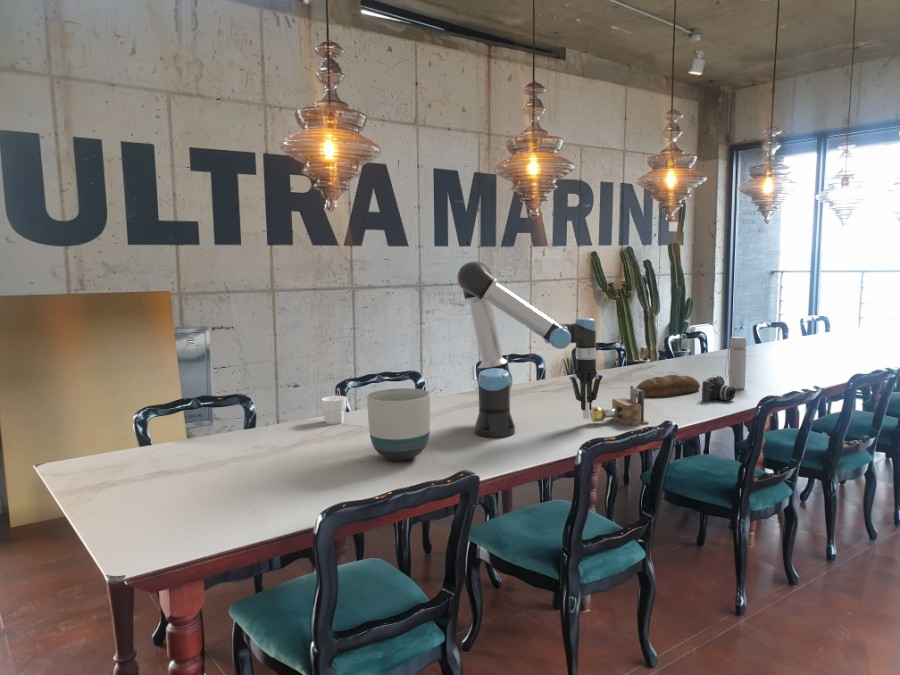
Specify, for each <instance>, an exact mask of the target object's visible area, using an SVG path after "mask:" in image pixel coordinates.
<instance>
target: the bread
mask: <svg viewBox="0 0 900 675" xmlns="http://www.w3.org/2000/svg"><path fill="white" fill-rule="evenodd" d="M700 387H701V384H700V382H699V381H698V380H697V379H695V378H694V377H693V376H690V375H677V374H667V375H665V376H654V377H652V378H647V379H645V380H643V381H641V382H640V383H638V385H637V386H635V388H638V389H640V390H644V398H655V397H656V398H657V397H658V398H661V397H662V398H664V397H672V396H673V397H674V396H677V395H678V396H680V395H686V394H690V393H694V392H696V391H698V390H700ZM636 396H638V395H637V394H636Z"/></svg>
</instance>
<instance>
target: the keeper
mask: <svg viewBox="0 0 900 675" xmlns="http://www.w3.org/2000/svg"><path fill="white" fill-rule="evenodd" d="M636 394H637V395H636ZM631 400H632V401H635V402H637V403H639V404H641V390H640V389H638V388H636V387H633V388H631Z"/></svg>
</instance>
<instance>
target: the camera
mask: <svg viewBox="0 0 900 675" xmlns="http://www.w3.org/2000/svg"><path fill="white" fill-rule="evenodd" d="M735 394H736V389H734V388H733V387H731V386H729V385H728V384H725V379H724V377H722V376H721V375H717V376H711V377H709V378H706V380H703V381H702V387H701V400H702V402H705V403H706V402H707V403H708V402H711V401H716V400H721V401H732V400H733V399H734V398H735V396H736V395H735Z"/></svg>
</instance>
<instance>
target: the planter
mask: <svg viewBox="0 0 900 675" xmlns="http://www.w3.org/2000/svg"><path fill="white" fill-rule="evenodd" d="M430 395H431V394H430V392H429V391H428V390H425V389H420V388H412V387H411V388H407V387H405V388H403V387H402V388H400V387H399V388H387V389H381V390H377V391H376V390H375V391H373V392H370V393H368V394H367V396H366V397H367V398H366V401H367V416H368V417H367V419H368V428H369V429H368V430H369V431H368V432H369V437H370V441H371V444H372V447H373V448H374V449H375V451H376V452H377V453H378V454H379V455H381V456H382V457H383V458H385V459H387V460H391V461H397V462H398V461H406V460H410V459H411V460H412V459H413V458H415V457H417V456H418V455H420V454H421V452H423V450H424V449H425V448H426V446H427V445H428V442H429V438H430V433H431V399H430V397H431V396H430Z"/></svg>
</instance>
